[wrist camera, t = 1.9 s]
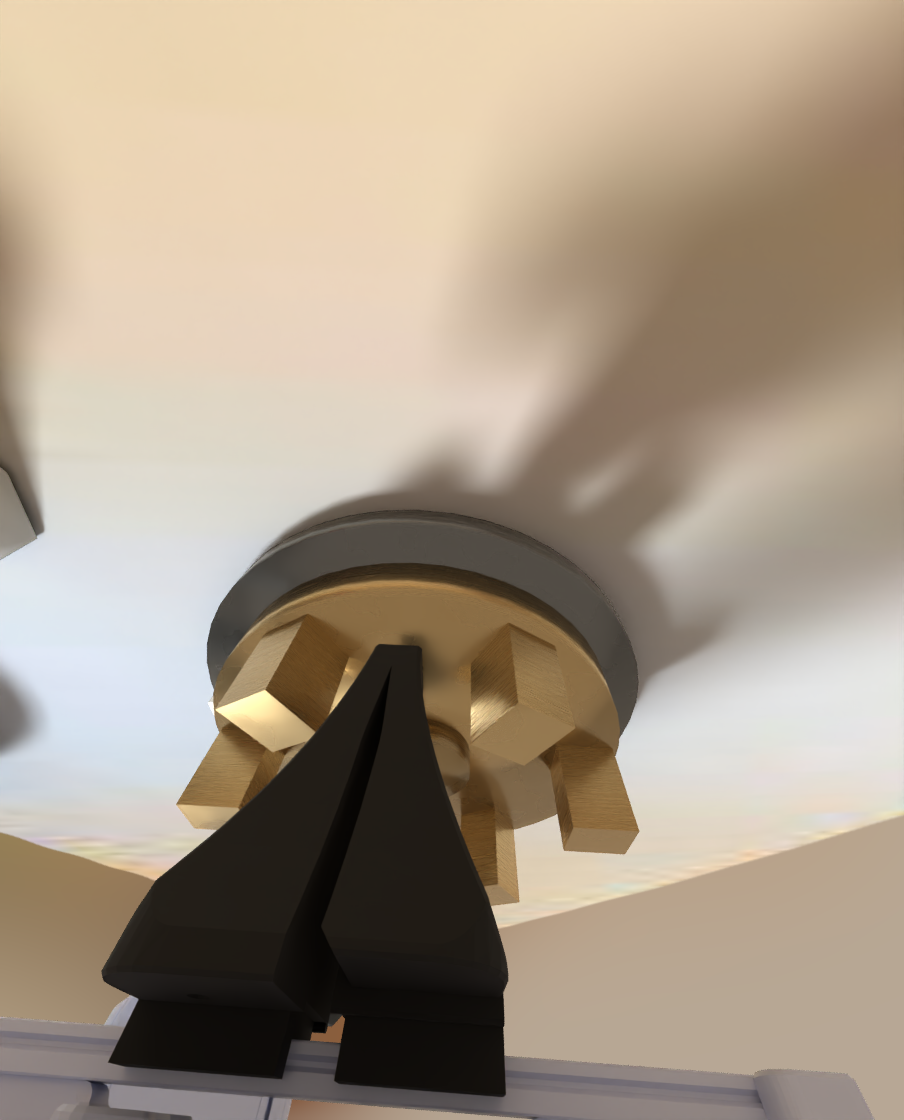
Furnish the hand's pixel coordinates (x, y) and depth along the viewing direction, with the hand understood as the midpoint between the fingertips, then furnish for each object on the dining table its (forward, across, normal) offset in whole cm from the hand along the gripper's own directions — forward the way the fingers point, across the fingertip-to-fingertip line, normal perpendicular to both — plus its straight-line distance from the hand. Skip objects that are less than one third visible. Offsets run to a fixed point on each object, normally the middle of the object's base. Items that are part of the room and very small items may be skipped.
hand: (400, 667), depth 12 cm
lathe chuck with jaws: (+4, 0, +8) cm, 8 cm away
